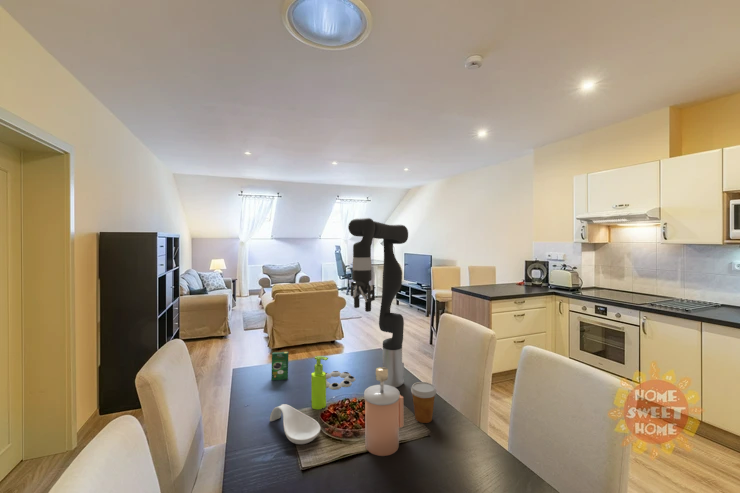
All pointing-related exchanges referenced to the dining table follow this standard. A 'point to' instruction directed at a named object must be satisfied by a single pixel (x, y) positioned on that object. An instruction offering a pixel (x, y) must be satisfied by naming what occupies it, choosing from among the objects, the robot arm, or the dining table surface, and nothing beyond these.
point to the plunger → (381, 376)
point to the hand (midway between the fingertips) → (362, 309)
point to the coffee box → (279, 366)
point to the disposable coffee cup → (423, 401)
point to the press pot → (383, 419)
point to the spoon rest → (296, 424)
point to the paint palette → (342, 375)
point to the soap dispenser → (318, 385)
